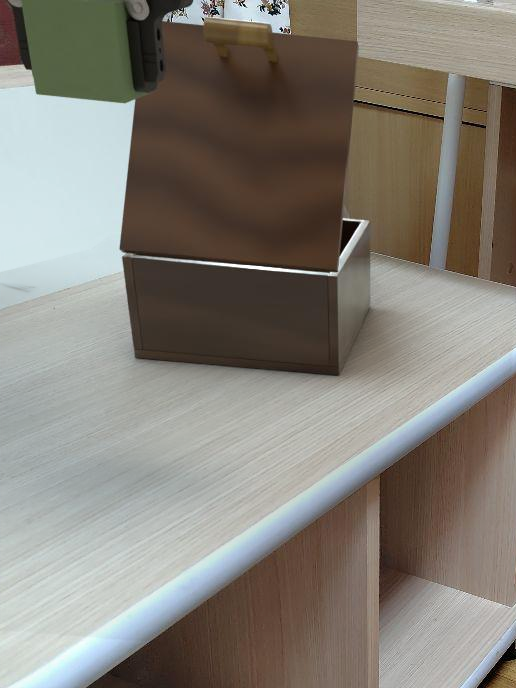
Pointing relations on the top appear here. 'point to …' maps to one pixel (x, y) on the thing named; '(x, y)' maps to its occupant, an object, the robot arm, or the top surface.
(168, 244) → the lid
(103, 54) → the block
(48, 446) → the top surface
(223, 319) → the chest
